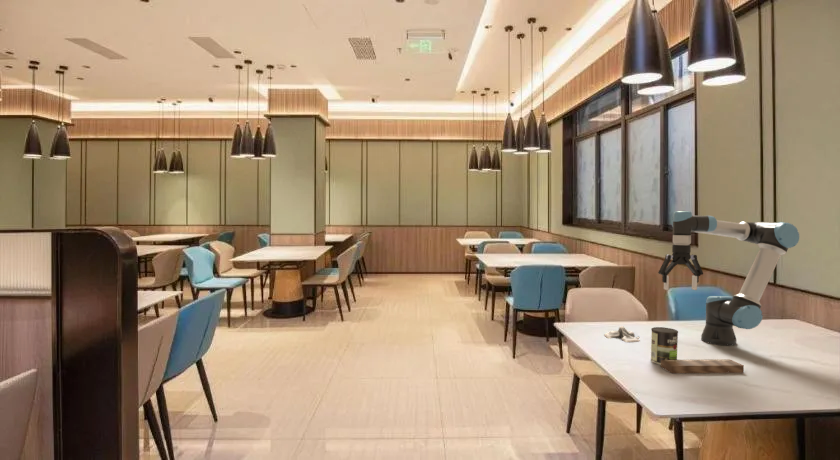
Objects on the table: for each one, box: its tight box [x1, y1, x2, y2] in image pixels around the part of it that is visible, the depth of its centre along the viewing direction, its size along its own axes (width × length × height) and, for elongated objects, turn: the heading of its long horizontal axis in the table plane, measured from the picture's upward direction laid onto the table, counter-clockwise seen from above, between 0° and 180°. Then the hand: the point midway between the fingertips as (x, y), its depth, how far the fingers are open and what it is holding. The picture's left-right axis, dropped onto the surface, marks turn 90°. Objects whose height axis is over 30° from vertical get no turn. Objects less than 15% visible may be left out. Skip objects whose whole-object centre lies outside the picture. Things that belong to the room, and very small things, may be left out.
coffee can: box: [650, 326, 679, 366], centre depth 208 cm, size 10×10×14 cm
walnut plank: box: [660, 358, 745, 374], centre depth 198 cm, size 30×8×3 cm, turn 93°
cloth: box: [603, 325, 641, 343], centre depth 251 cm, size 22×19×6 cm
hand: (680, 289), depth 225 cm, fingers open, 13 cm apart
